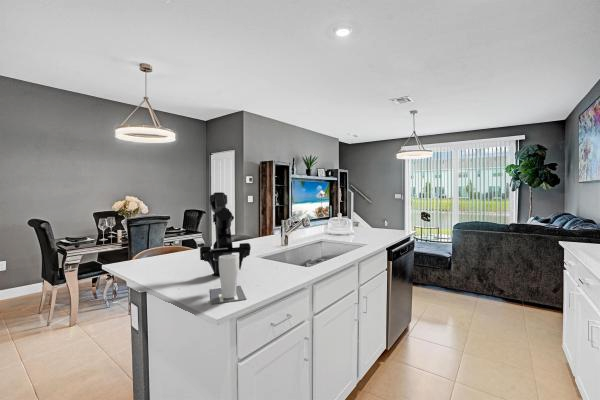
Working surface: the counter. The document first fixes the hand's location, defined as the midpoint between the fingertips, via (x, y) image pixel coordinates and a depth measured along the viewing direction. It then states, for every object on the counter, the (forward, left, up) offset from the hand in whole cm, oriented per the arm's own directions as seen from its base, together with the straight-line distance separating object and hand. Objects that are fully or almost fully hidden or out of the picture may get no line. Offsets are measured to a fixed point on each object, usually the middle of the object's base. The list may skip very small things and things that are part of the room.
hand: (227, 270), depth 108 cm
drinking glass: (0, +1, -10) cm, 10 cm away
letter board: (-2, +3, -10) cm, 11 cm away
